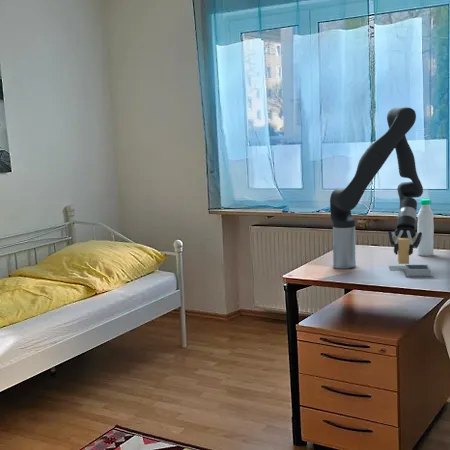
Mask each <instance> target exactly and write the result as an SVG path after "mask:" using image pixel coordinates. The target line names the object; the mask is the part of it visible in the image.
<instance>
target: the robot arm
mask: <svg viewBox="0 0 450 450" xmlns="http://www.w3.org/2000/svg"><path fill="white" fill-rule="evenodd" d="M387 112H388V113H387V115H386V122H387V125H388V130H386V132H385V133H384V134H382V135H381V136H380V137H379V138H377V139H376V140H375V141H373V142H372V143H370V145H369V146H368V147H367V148H366V150H365V151H364V153H363V154H362V155H361V157H360V158H359V161H358V163H357V168H356V170H355V174H354V176H353V178H352V179H351V181H350V182H349V184H347V186H346V187H337V188H335V189H334V190H333V191H332V192H331V194H330V198H329V207H330V208H329V209H330V220H331V222H332V256H333V257H332V261H333V262H332V263H333V264H332V265H333V269H334V268H335V269H343V270H344V269H345V270H347V269H353V268H355V267H356V263H357V262H356V261H357V260H356V258H357V257H356V220H355V219H354V217H353V215H352V210H354V209H355V208H356V207H357V205H358V204H359V203H360V201H361V198H362V197H363V195H364V194H365V191H366V189H367V188H368V186H369V185H370V183H371V182H372V181H373V179H374V178H375V177H376V175H377V174H378V172H379V171H380V170H381V168H382V167H383V166H384V164H385V163H386V161H387V160H388V159H389V157H390V155H391V154H392V152H393V151H394V149H395V154H396V159H397V165H398V173H399V176H400V178H406V179H409V180H411V181H403V182H400V183H399V184H398V185H397V194H398V198H399V210H398V213H397V222H396V229H395V230H394V231H391V230H389V231H388V232H387V233H388V238H389V243H390V246H391V247H394V248H393V253H394V254H395V255H397V256H398V238H409V256H411V255H413V253H414V248H417V247H418V246H419V243H420V241H421V239H422V233H421V232H420V233H417V231H416V226H417V209H418V202H417V200H416V199H415V198H420V197H421V196H422V195H423V193H424V186H423V185H422V182H421V180H420V178H419V176H418V172H417V167H416V160H415V159H416V158H415V155H414V153H413V151H412V148H411V146H410V144H409V142H408V140H407V137H406V135H407V133H409V131H411V129H412V128H413V126H414V124H415V123H416V120H417V113H416V111H415V110H414V109H413V108H411V107H407V106H396V107H392V108H391V109H389V111H387ZM395 236H396V239H395V240H394V239H393V238H394V237H395ZM415 237H416V239H415V241H414V242H413V238H415Z"/></svg>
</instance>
